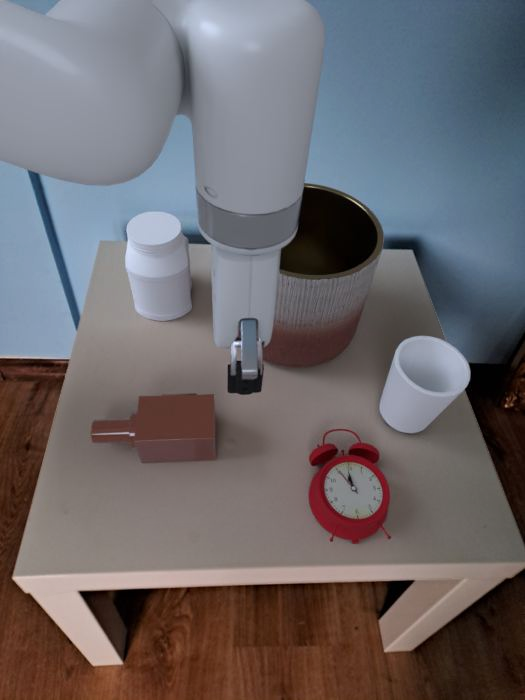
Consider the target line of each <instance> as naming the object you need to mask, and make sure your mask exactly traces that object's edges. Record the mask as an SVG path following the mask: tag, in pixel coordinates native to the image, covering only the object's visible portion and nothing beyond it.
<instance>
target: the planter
mask: <svg viewBox="0 0 525 700" xmlns="http://www.w3.org/2000/svg"><path fill="white" fill-rule="evenodd" d="M384 244H385V233H384V229H383V226H382V224H381V222H380V219H379V218H378V217H377V215H376V214H375V213H374V212H373V211H372V210H371V208H369V207H368V206H367V205H366V204H364V202H362V201H361V200H359V199H358V198H356V197H354V196H352V195H350V194H348V193H346V192H344V191H342V190H339V189H336V188H333V187H330V186H326V185H321V184H316V183H311V182H310V183H309V182H304V188H303V194H302V201H301V208H300V214H299V221H298V228H297V233H296V235H295V237H294V238H293V239H292V241H291V242H290V243H289V244H287V245H286V246H285V247H283V248H281V256H280V267H279V271H280V274H279V278H278V289H277V298H276V308H275V316H274V324H273V330H272V336H271V340H270V342H269V344H268V345H267V346H265V347H263V362H267V363H269V364H271V365H272V364H273V365H276V366H279V367H284V368H295V369H296V368H299V369H300V368H310V367H316V366H320V365H322V364H325V363H328V362H330V361H331V360H334V359H335V358H337V357H338V356H340V355H341V354H342V353H343V352H344V351H345V350H346V349H348V347H349V345H350V343H351V342H352V340H353V339H354V336H355V334H356V331H357V328H358V326H359V323H360V319H361V316H362V313H363V310H364V307H365V304H366V300H367V298H368V293H369V291H370V288H371V286H372V282H373V279H374V276H375V272H376V270H377V268H378V264H379V261H380V258H381V256H382V252H383V249H384ZM237 338H241V330H239V332H238V336H237Z"/></svg>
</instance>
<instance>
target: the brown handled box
mask: <svg viewBox="0 0 525 700" xmlns="http://www.w3.org/2000/svg"><path fill="white" fill-rule="evenodd" d="M137 400H138V401H137V411H132V412H131V413H130V417H128V418H100V419H99V418H98V419H96V418H95V419H93V420H92V423H91V428H90V439H91V442H92V444H94V445H101V444H102V445H103V444H127V443H128V444H129V446H130V449H131V450H137V453H138V456H139V460H140V462H141V464H154V463H155V464H157V463H179V462H180V463H181V462H202V461H203V462H204V461H217V460H216V459H217V450H216V449H217V442H216V439H217V438H216V436H217V435H216V400H215V394H213V393H210V394H207V393H206V394H204V393H203V394H198V393H166V394H165V393H164V394H161V395H140V396H138V399H137Z"/></svg>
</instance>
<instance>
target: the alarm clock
mask: <svg viewBox="0 0 525 700" xmlns="http://www.w3.org/2000/svg"><path fill="white" fill-rule="evenodd" d="M340 431H341V432H348V433H351V434H353V435H354V436H355V438H356V439H357V440H358V442H355V443H353V444H351V445H350V447H349V448H348V452H347V454H345V449H341V450H340V453H341V454H342V455H339V456H337V455H338V453H339V449H338V447H337V446H336V444H334V443H325V441H326V440H325V439H326V436H327V435H328V434H329V433H332V432H340ZM316 446H317V447H316V448H314V449H313V450H312V451H311V453H310V454H309V456H308V461H309V464H310V466H311V467H318V466H322V465H323V466H322V467H321V468H319V470H318V471H317V472H316V473H315V474H314V476H313V478H312V479H311V482H310V485H309V488H308V503H309V508H310V510H311V513H312V515H313V517H314V518H315V520H316V521H317V523H318V524H319V525H320V526H321V527H322V528H323V529H324V530H325V531H327V532H328V533H329V534H331V537H330V538H329V542H331V543H333V542H334V538H335V537H336V538H340V539H342V540H347V541H351V545H354V544H360V542H361V541H360V540H364V539H367V538H370V537H371V536H373V535H375V534H376V533H377V532H378V531H379V530H380V529H381V530H382V531H383V533H384V534H385V536H386V537H387V540H391V539H392V536H391V535H389V533H388V532H387V531H386V529H385V528H384V526H383V525H384V523H385V521H386V520H387V515H388V513H389V506H390V501H391V491H390V487H389V483H388V480H387V478H386V476H385V474H384V473H383V472H382V471H381V469H380V468H379V467H378V466H377V465H376V463H378V462H379V460H380V452H379V449H378V448H376V447H375V446H374V445H372V444H370V443H366V442H362V440H361V439H360V436H359V435H358V434H357V433H356V432H354V431H353V430H350V429H347V428H334V429H330V430H328V431H326V432H325V433H324V434H323V436H322V444H321V445H320V444H317V445H316Z"/></svg>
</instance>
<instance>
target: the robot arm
mask: <svg viewBox="0 0 525 700" xmlns="http://www.w3.org/2000/svg"><path fill="white" fill-rule="evenodd" d="M325 43H326V34H325V25H324V22H323V19H322V17H321V14H320V13H319V11H318V10H317V9H316V8H315V6H314V5H312V4H311V2H309V1H307V0H59V1H58V2H57V3H55V5H54V6H52V8H51V9H49V10H48V11H47V12H45V14H43V13H41V12H40V13H39V12H37V11H34V10H32V9H29V8H26V7H24V6H22V5H20V4H18V3H15V2H13V1H11V0H0V161H2V162H4V163H7V164H10V165H13V166H15V167H19V168H20V169H24V170H27V171H29V172H33V173H36V174H38V175H42V176H44V177H49V178H52V179H56V180H58V181H63V182H68V183H74V184H79V185H84V186H97V187H98V186H99V187H100V186H102V187H103V186H105V187H106V186H115V185H120V184H125V183H128V182H130V181H132V180H135V179H136V178H139V177H140V176H141V175H143V174H144V173H145V172H147V171H148V169H150V168H152V166H153V165H154V164H155V162H156V161H157V160H158V158H159V156H160V155H161V153H162V151H163V150H164V147H165V145H166V142H167V140H168V137H169V136H170V133H171V130H172V127H173V125H174V121H175V119H176V117H177V116H180V115H182V116H185V117H186V118H187V119H188V120H189V121H190V123H191V132H192V133H191V134H192V148H193V149H192V150H193V164H194V182H195V183H194V184H195V187H194V188H195V203H196V223H197V228H198V230H199V233H200V234H201V236H202V237H203V238H204V239H205V240H206V241H207V242H208V243H209V244H210V275H211V302H212V303H211V304H212V307H211V308H212V330H213V335H212V336H213V344H214V345H215V347H217V348H218V349H230V353H229V354H230V356H229V357H230V360H229V361H230V363H229V364H227V377H226V378H227V382H226V383H227V385H226V387H227V393H228V394H238V395H241V396H246V395H247V396H248V395H252V394H256V393H257V394H258V393H261V392H262V388H263V380H264V371H265V365H264V363H263V362H264V360H263V347H265V346H267V345H268V344H269V342H270V340H271V336H272V330H273V324H274V316H275V308H276V298H277V289H278V278H279V274H280V271H279V267H280V256H281V248H283V247H285V246H286V245H287V244H289V243H290V242H291V241H292V239H293V238H294V237H295V235H296V233H297V228H298V221H299V214H300V208H301V201H302V194H303V188H304V183H306V182H305V181H306V174H307V168H308V161H309V154H310V149H311V140H312V134H313V126H314V123H315V116H316V115H315V114H316V108H317V102H318V96H319V95H318V94H319V90H320V89H319V88H320V83H321V75H322V69H323V61H324V55H325V53H324V52H325ZM239 330H241V338H237V336H238V332H239ZM237 348H240V360H238V355H237V353H238V352H237V351H238V349H237Z"/></svg>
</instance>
